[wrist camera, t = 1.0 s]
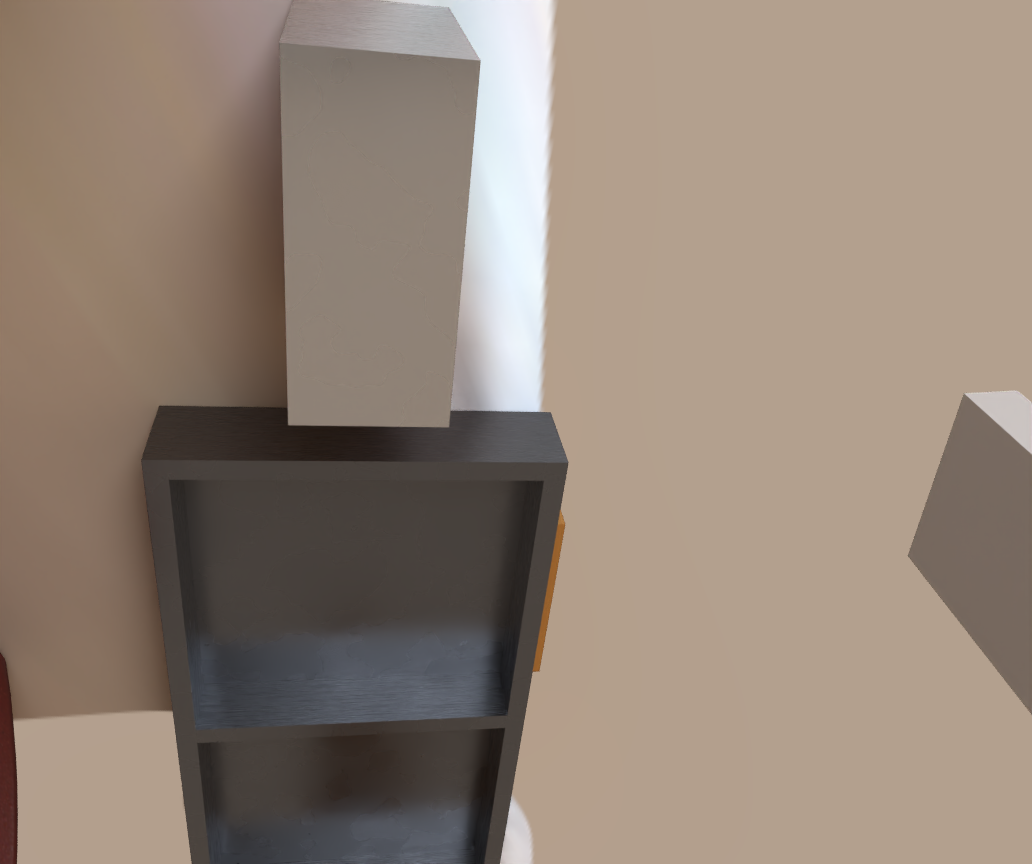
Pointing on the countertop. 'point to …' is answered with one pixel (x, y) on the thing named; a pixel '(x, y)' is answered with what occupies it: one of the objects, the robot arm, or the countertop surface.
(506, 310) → the countertop surface
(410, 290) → the plain grey rectangular box
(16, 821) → the plant pot
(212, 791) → the tray
